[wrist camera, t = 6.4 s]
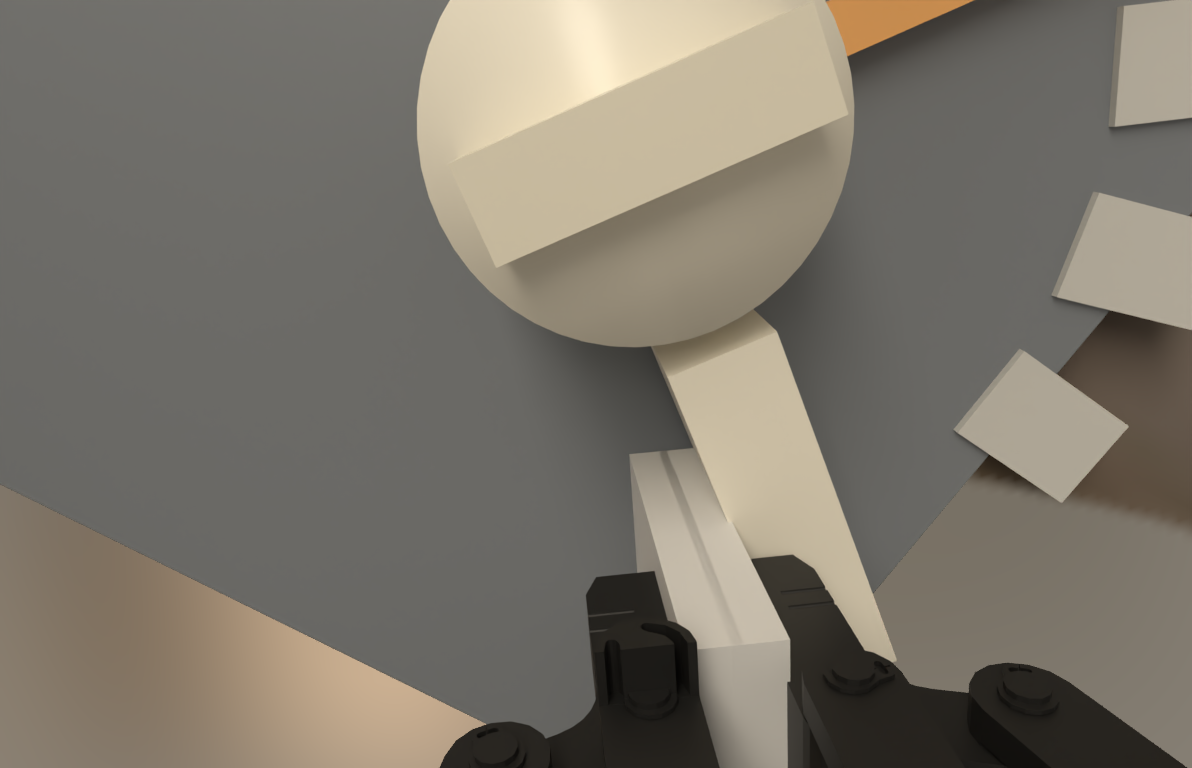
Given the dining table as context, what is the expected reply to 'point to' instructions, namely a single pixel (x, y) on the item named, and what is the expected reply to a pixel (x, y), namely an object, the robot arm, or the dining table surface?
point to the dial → (667, 211)
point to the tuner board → (512, 342)
